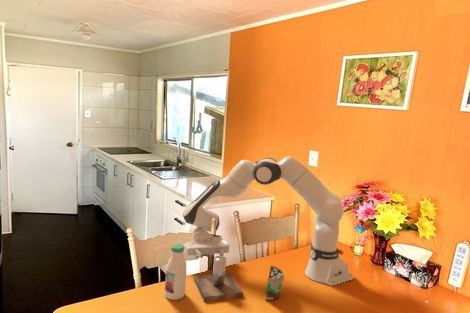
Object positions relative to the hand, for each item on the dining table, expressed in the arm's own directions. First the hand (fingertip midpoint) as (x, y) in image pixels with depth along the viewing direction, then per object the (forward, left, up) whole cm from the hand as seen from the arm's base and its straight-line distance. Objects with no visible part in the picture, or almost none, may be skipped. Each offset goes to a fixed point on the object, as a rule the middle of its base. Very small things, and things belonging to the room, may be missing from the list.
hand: (212, 255), depth 145 cm
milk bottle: (+18, +11, -10) cm, 23 cm away
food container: (-21, +20, -10) cm, 31 cm away
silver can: (0, +10, -8) cm, 13 cm away
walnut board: (0, +10, -10) cm, 14 cm away
